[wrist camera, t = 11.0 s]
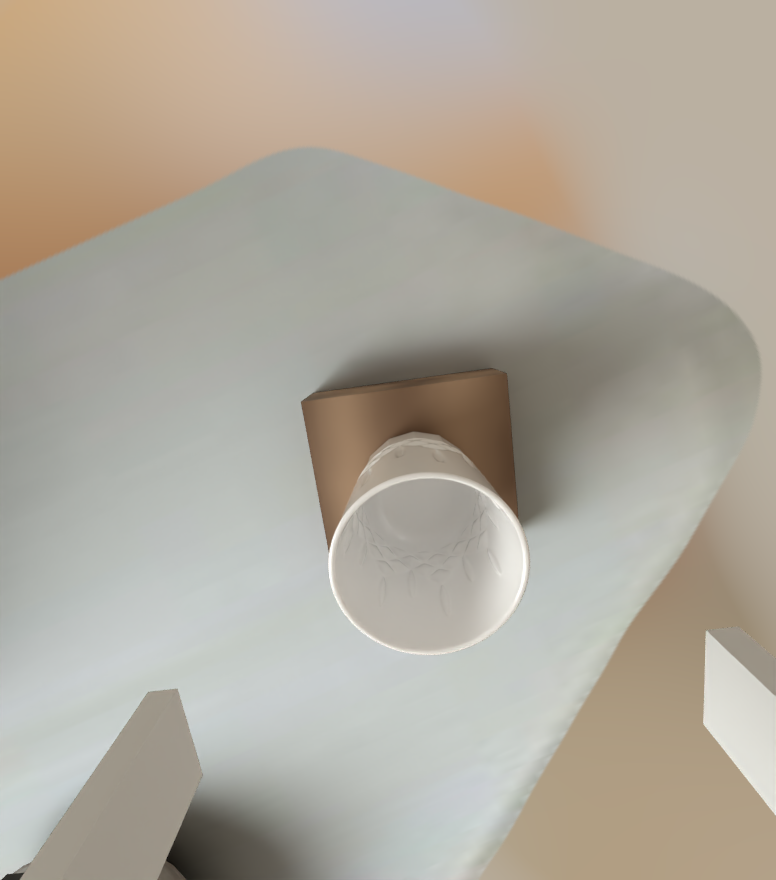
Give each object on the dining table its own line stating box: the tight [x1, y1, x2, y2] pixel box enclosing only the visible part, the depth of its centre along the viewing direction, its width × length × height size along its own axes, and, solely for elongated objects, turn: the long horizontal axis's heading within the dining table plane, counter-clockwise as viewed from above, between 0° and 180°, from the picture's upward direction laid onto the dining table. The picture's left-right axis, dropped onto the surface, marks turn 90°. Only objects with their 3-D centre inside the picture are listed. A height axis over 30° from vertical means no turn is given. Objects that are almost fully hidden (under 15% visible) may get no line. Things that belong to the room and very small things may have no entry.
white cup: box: [328, 431, 530, 655], centre depth 22 cm, size 8×8×10 cm
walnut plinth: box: [301, 368, 518, 551], centre depth 29 cm, size 12×12×4 cm
